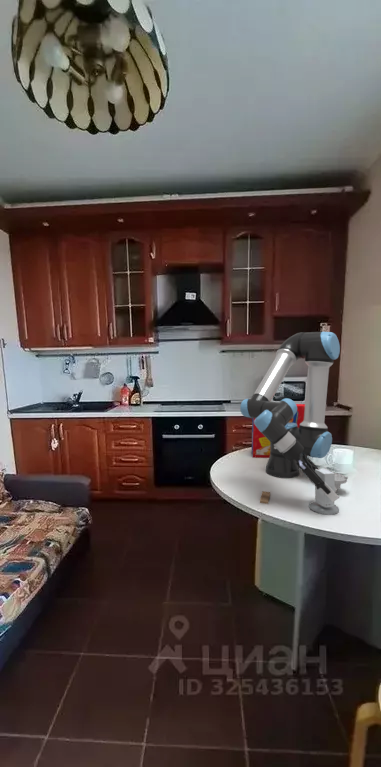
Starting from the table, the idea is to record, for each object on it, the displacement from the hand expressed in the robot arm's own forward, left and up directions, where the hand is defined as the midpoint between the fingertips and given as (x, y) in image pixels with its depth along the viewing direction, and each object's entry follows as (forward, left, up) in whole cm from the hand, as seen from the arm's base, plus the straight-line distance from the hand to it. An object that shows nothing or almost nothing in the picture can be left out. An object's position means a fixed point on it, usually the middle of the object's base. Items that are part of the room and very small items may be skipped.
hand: (334, 495), depth 130 cm
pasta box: (-63, -23, -6) cm, 67 cm away
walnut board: (-3, -24, -5) cm, 25 cm away
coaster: (0, -3, -5) cm, 6 cm away
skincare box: (0, -4, -4) cm, 5 cm away
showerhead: (-18, +2, -6) cm, 19 cm away
